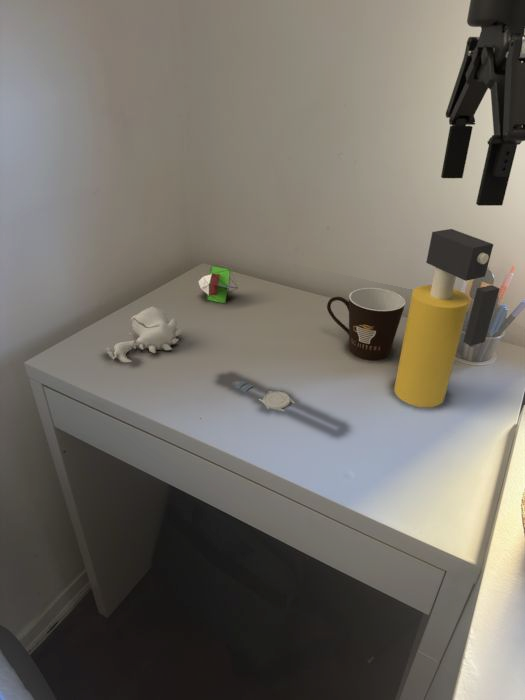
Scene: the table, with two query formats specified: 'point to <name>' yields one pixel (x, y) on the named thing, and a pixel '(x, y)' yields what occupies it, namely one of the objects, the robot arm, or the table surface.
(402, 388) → the spray bottle
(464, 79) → the robot arm
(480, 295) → the trigger
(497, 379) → the table surface
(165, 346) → the toy character
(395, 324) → the coffee mug
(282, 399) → the wristwatch
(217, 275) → the geometric puzzle
